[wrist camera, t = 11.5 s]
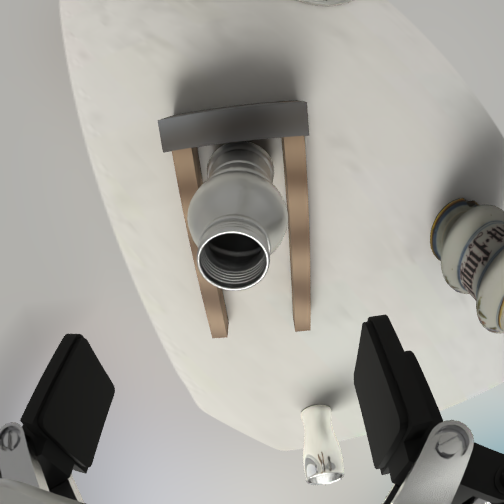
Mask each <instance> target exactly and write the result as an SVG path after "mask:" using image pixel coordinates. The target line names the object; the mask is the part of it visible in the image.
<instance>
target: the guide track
mask: <svg viewBox="0 0 504 504" xmlns="http://www.w3.org/2000/svg"><path fill="white" fill-rule="evenodd" d="M158 125H159V131H160V137H161V143H162V149H163V152H169V151H172V155H173V160H174V166H175V171H176V177H177V182H178V187H179V193H180V198H181V203H182V208H183V213H184V218H185V222H186V227H187V232H188V237H189V241H190V246H191V251H192V255H193V260H194V264H195V268H196V273H197V277H198V281H199V286H200V290H201V294H202V298H203V302H204V306H205V310H206V314H207V318H208V322H209V326H210V330H211V334H212V338H224V337H227V335H228V324H229V322H228V317H227V312H226V307H225V302H224V297H223V292H222V289H221V288H218V287H216V286H214V285H212V284H211V283H209V282H208V281H207V280H206V279H205V278H204V277H203V276H202V275H201V273H200V271H199V269H198V266H197V251H198V247H197V245H196V244H195V242H194V241H193V238H192V236H191V233H190V230H189V227H188V220H187V216H188V208H189V205H190V201H191V200H192V198H193V196H194V194H195V193H196V191H197V190H198V189H199V188H200V186H201V185H202V184H203V181H202V175H201V169H200V163H199V156H198V150H197V147H200V146H207V145H215V144H222V143H230V142H239V141H248V140H258V139H268V138H280V137H281V138H282V150H283V161H284V174H285V186H286V200H287V211H288V229H289V245H290V262H291V281H292V303H293V320H294V326H295V332H297V331H307V330H310V314H311V301H310V238H309V210H308V188H307V170H306V153H305V139H304V136H308V135H309V125H308V113H307V102H303V101H297V100H296V101H281V102H268V103H257V104H247V105H238V106H230V107H222V108H215V109H208V110H202V111H195V112H189V113H184V114H178V115H173V116H170V117H167V118H164V119H161V120H158Z"/></svg>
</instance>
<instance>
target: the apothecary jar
mask: <svg viewBox="0 0 504 504" xmlns="http://www.w3.org/2000/svg"><path fill="white" fill-rule="evenodd" d="M430 244H431V249H432V251H433V254H434V255H435V256H436V258H437V259H439V260H440V261H441V269H442V273H443V276H444V278H445V280H446V282H447V283H448V285H449V286H450V287H451V288H453V289H454V290H455V291H457V292H460V293H464V294H470V295H471V296H472V297H473V298H474V299H475V300H476V309H477V315H478V318H479V321H480V323H481V324H482V326H483V327H484V328H485V329H487V330H488V331H490V332H493V333H504V211H502V210H501V209H500V208H498V207H496V206H492V205H480V206H479V204H478V203H477V202H475V201H469V202H467V201H466V200H465V199H464V198H461V199H457V200H454V201H452V202H450V203H449V204H448V205H447V206H445V207H444V208H443V209H442V211H441V212H440V213H439V214H438V216H437V217H436V219H435V221H434V224H433V226H432V230H431V235H430Z"/></svg>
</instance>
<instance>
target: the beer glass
mask: <svg viewBox="0 0 504 504" xmlns="http://www.w3.org/2000/svg"><path fill="white" fill-rule="evenodd" d="M301 419H302V422H303V425H304V432H305V434H304V446H303V464H304V471H305V475H306V482H307V483H308V484H311V485H323V484H329V483H333V482H336V481H338V480H340V479H342V478H343V477H344V469H343V458H342V453H341V449H340V446H339V443H338V440H337V438H336V435H335V433H334V430H333V427H332V423H331V408H330V407H329V406H326V405H313V406H310V407H307V408H306V409H304V410H303V411H302V412H301Z"/></svg>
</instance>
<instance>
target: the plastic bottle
mask: <svg viewBox="0 0 504 504" xmlns="http://www.w3.org/2000/svg"><path fill="white" fill-rule="evenodd" d="M273 177H274V166H273V162H272V160H271V158H270V156H269V155H268V153H267V152H266V151H265V150H264V149H263V148H261V147H260V146H258V145H256V144H254V143H251V142H248V141H239V142H230V143H227V144H225V145H222V146H221V147H220V148H218V149H217V150H216V151H215V152H214V153H213V154H212V156H211V158H210V160H209V163H208V166H207V179H208V180H207V181H205V182H204V183H203V184H202V185H201V186H200V188H199V189H198V190H197V191H196V193H195V194H194V196H193V198H192V200H191V201H190V205H189V208H188V216H187V220H188V227H189V230H190V233H191V236H192V238H193V241H194V242H195V244H196V245H197V247H198V251H197V266H198V269H199V271H200V273H201V275H202V276H203V277H204V278H205V279H206V280H207V281H208V282H209V283H211V284H212V285H214V286H216V287H218V288H221V289H224V290H231V291H235V290H243V289H247V288H250V287H252V286H254V285H256V284H257V283H258V282H260V281H261V280H262V279H263V277H264V276H265V275H266V273H267V271H268V268H269V263H270V255H271V254H272V253H273V252H274V251H275V250H276V249H277V248H278V246H279V245H280V244H281V241H282V239H283V237H284V235H285V233H286V230H287V225H288V211H287V207H286V204H285V202H284V200H283V198H282V196H281V194H280V192H279V191H278V190H277V188H276V187H275V186H274V185H273V184H272V183H273Z"/></svg>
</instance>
